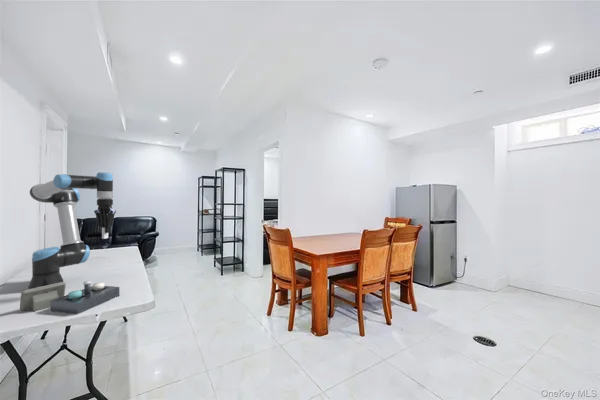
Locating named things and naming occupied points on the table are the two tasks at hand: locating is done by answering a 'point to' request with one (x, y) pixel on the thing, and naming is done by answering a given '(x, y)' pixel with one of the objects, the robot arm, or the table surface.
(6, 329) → the table surface
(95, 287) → the knob inner
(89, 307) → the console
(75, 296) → the knob outer
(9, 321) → the table surface
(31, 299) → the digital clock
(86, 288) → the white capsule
